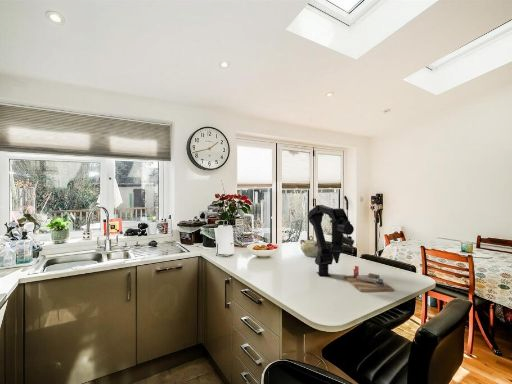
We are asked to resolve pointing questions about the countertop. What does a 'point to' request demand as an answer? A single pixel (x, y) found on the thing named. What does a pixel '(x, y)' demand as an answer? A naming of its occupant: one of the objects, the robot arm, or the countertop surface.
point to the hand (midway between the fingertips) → (337, 260)
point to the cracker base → (368, 284)
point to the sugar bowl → (309, 247)
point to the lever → (371, 279)
